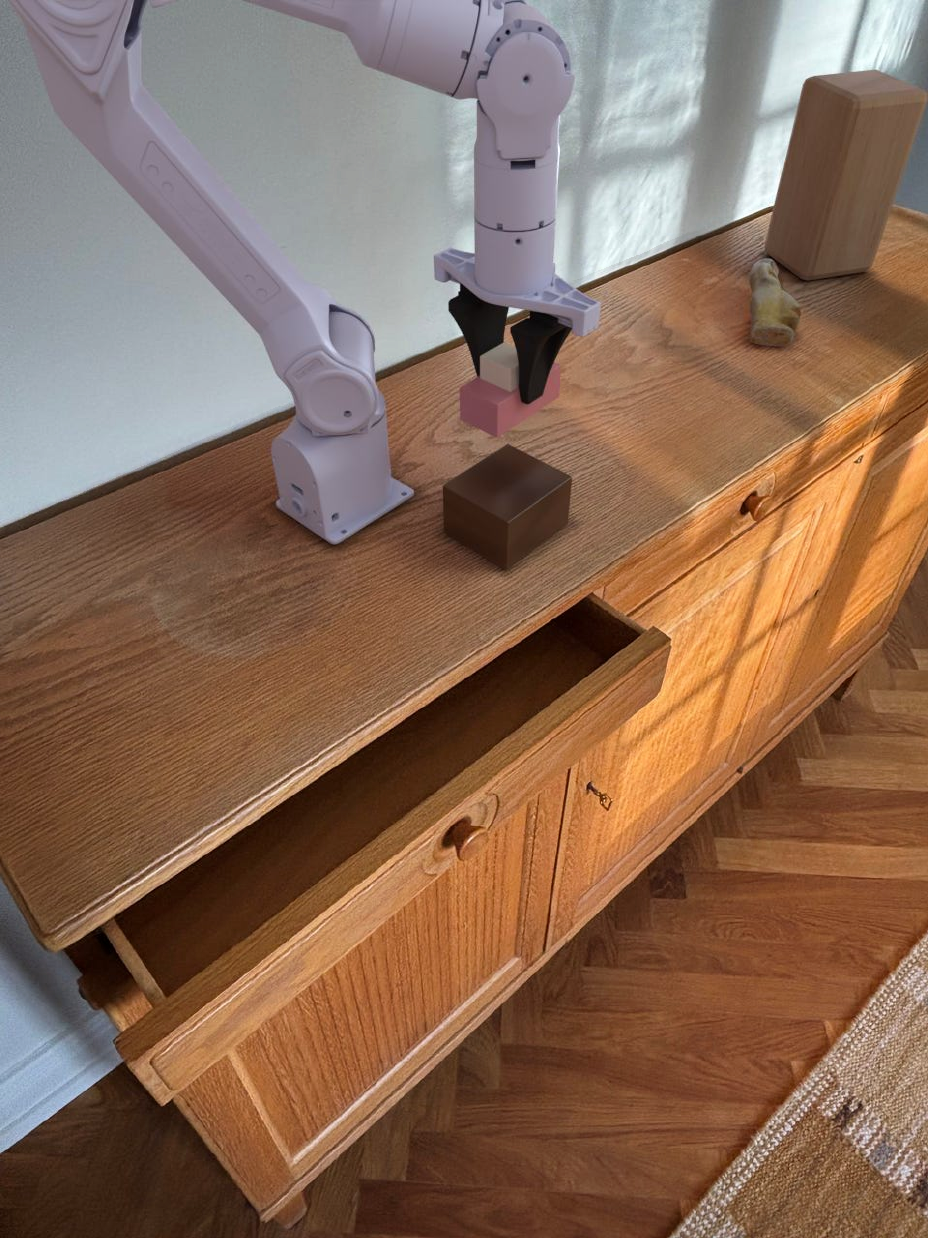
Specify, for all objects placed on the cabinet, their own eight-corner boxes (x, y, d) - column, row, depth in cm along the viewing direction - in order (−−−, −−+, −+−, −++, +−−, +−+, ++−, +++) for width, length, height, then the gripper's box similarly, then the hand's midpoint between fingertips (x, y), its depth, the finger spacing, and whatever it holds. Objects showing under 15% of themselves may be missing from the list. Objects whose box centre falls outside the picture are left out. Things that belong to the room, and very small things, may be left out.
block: (759, 251, 112) (801, 74, 98) (826, 241, 114) (877, 66, 100) (802, 284, 105) (854, 98, 91) (873, 273, 107) (935, 89, 93)
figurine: (813, 331, 92) (803, 253, 101) (772, 309, 91) (764, 232, 100) (781, 366, 96) (773, 288, 105) (740, 346, 95) (736, 268, 104)
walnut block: (506, 571, 70) (507, 522, 66) (443, 533, 73) (442, 485, 69) (568, 524, 74) (572, 476, 70) (506, 490, 77) (507, 443, 74)
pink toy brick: (497, 438, 69) (497, 381, 65) (460, 419, 71) (458, 364, 67) (559, 397, 73) (563, 341, 69) (522, 380, 75) (524, 326, 71)
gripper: (634, 224, 59) (613, 399, 69) (475, 176, 66) (477, 341, 76) (571, 258, 56) (558, 437, 65) (410, 203, 63) (420, 373, 72)
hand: (510, 388), depth 70 cm, fingers closed on pink toy brick, 4 cm apart
